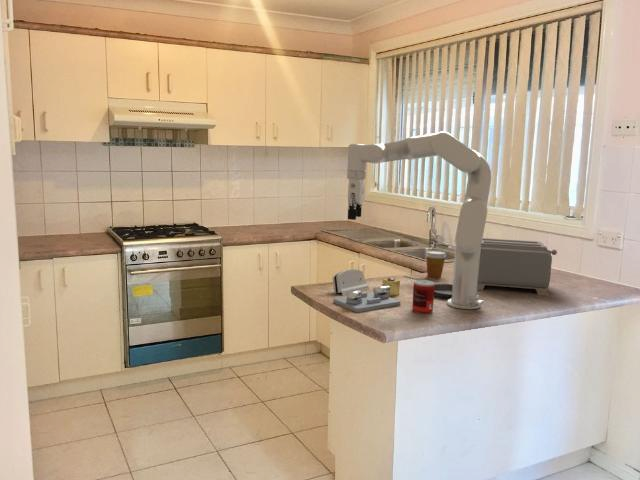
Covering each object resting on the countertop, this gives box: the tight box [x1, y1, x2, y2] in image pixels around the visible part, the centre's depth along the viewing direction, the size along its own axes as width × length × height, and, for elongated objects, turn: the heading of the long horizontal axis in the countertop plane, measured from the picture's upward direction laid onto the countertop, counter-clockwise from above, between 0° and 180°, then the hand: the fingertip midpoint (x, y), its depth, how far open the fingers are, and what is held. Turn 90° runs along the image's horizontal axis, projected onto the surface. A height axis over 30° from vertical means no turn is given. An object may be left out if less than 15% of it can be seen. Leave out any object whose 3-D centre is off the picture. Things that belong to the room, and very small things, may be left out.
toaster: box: [477, 237, 558, 296], centre depth 251 cm, size 19×35×20 cm, turn 79°
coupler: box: [381, 277, 401, 297], centre depth 234 cm, size 5×5×7 cm
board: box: [332, 291, 402, 313], centre depth 218 cm, size 21×15×3 cm
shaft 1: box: [346, 290, 363, 305], centre depth 213 cm, size 6×4×6 cm
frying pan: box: [402, 275, 453, 300], centre depth 241 cm, size 18×32×4 cm, turn 46°
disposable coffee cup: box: [425, 250, 447, 280], centre depth 266 cm, size 10×10×12 cm
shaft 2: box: [372, 286, 390, 300], centre depth 222 cm, size 6×4×6 cm
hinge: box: [332, 269, 370, 297], centre depth 237 cm, size 17×5×10 cm, turn 134°
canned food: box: [411, 279, 435, 315], centre depth 211 cm, size 8×8×11 cm
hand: (354, 217), depth 228 cm, fingers open, 9 cm apart
